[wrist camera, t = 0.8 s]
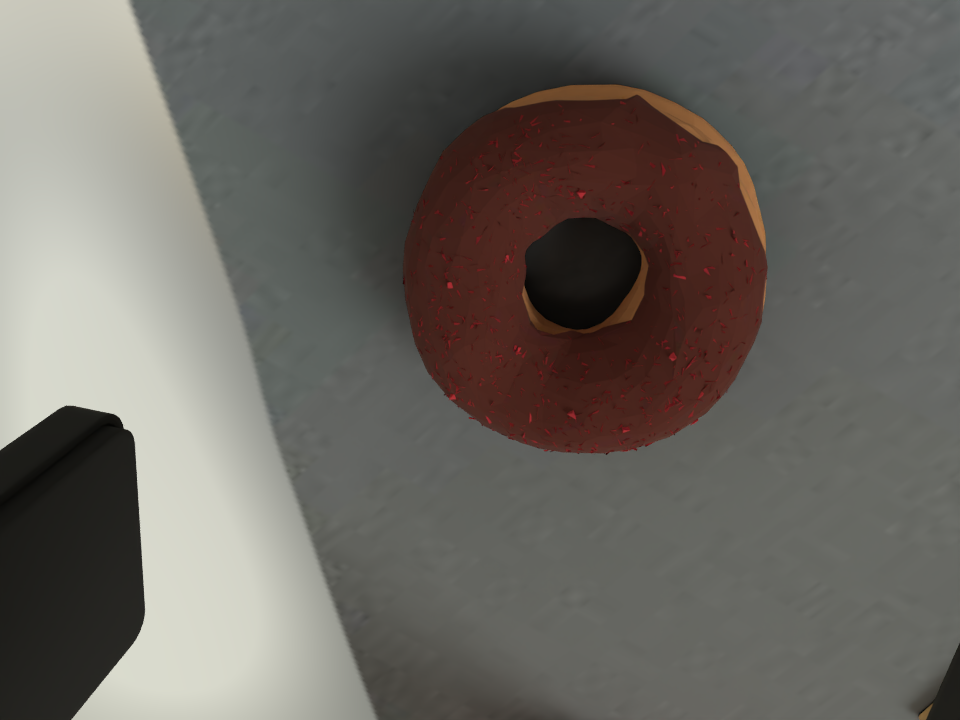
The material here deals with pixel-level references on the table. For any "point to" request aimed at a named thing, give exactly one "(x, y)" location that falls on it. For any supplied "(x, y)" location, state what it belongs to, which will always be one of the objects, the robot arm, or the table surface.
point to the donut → (645, 310)
